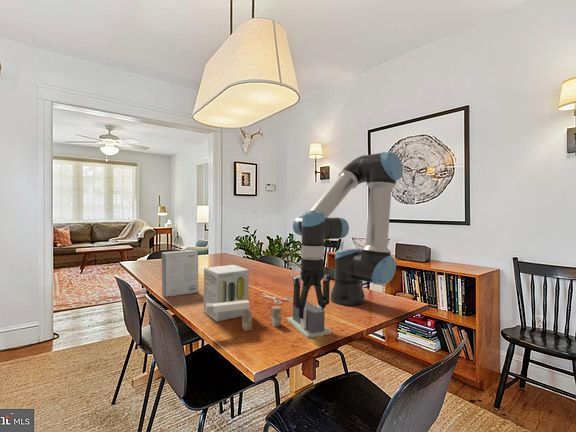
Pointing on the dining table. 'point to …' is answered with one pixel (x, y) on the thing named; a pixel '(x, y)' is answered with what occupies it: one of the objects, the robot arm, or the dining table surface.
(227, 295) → the supplement box
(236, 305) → the strap
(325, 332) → the mat
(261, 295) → the scissors
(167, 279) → the hard drive box
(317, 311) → the dark gray rectangular block
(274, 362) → the dining table surface
